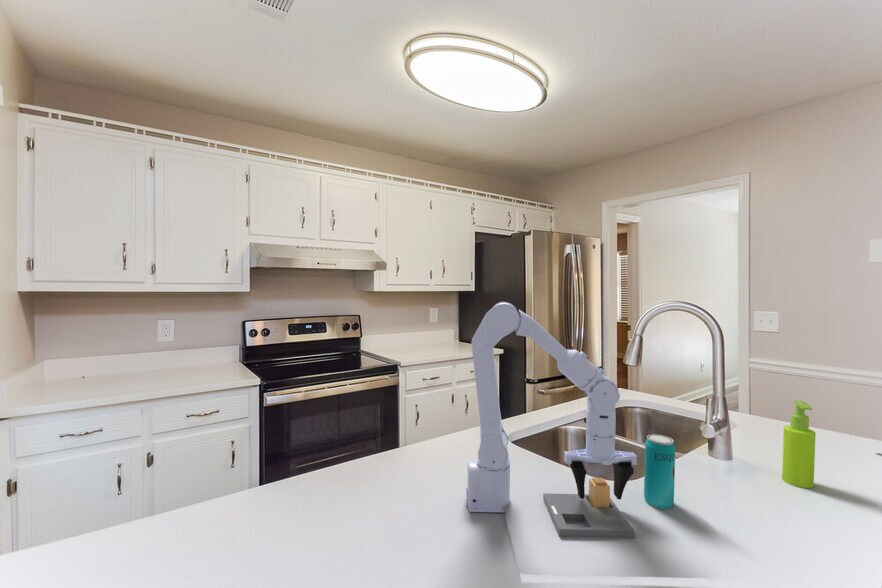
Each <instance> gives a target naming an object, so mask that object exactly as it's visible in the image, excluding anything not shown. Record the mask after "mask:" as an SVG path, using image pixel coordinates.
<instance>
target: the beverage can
mask: <svg viewBox="0 0 882 588" xmlns="http://www.w3.org/2000/svg"><path fill="white" fill-rule="evenodd" d="M674 443H675V441H674V439H673V438H671V437H670V436H667V435H663V434H655V433H654V434H653V433H652V434H648V435H647V436H646V441H645V443H644V447H645V448H644V478H643V480H644V483H643V484H644V485H643V486H644V487H643V497H644V500H645V502H646V503H647V504H648V505H650V506H652V507H654V508H657V509H660V510H661V509H662V510H667V509H668V510H669V509H671V508H673V506H674V503H675V480H676V479H675V472H676V470H675V469H676V446H675V444H674Z"/></svg>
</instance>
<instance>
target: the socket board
mask: <svg viewBox="0 0 882 588" xmlns="http://www.w3.org/2000/svg"><path fill="white" fill-rule="evenodd" d="M575 492H576V493H543V496H542V497H543V499H542V500H543V503H544V505H545V507H546V509H547V512H548V514H549V517H550V519H551V521H552V524H553V526H554V529H555V530H556V532H557V535H558V537H559V538H561V537H562V538H599V539H601V538H602V539H603V538H605V539H608V538H609V539H635V536H636V535H635V534H636V531H635V529H634V527H632V525H631V524H630V523H629V521H628V520H627V519H626V517H625V516H624V514H623V513H622V512H621V510H620V509H619V508H618V506H617V505H616V504H615V503H614V501H613V500H612V498H611V497H610V508H604V507H592V506H591V505H590V503H589V493H587V494H586V493H585V496H584V499H581V498H580V497H579V495H578V490H576V491H575Z"/></svg>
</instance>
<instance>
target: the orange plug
mask: <svg viewBox="0 0 882 588" xmlns="http://www.w3.org/2000/svg"><path fill="white" fill-rule="evenodd" d="M588 494H589V503H590V505H591V506H592V507H604V508H610V498H611V485H610V484H609V483H608V482H607V480H606V479H605V478H603V477H592V478H589V479H588Z"/></svg>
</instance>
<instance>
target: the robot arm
mask: <svg viewBox="0 0 882 588" xmlns="http://www.w3.org/2000/svg"><path fill="white" fill-rule="evenodd" d="M514 331H515V335H516V336H521V337H527V338H528V339H529V338H530V339H531V340H532V341H533V342H534V343H536V344H537V345H538V346H539V347H541V348H542V349H543V350H544V351H545V352H547V353H548V355H550V356H551V357H552V358H553V359H555V360H556V361H557V370H558V371H559V372H560V373H561V374H562V375H564V377H566V378H567V379H568V380H570V382H571V383H572V384H574V385H575V386H576V387H577V388H578V389H579V390H581V391H584V393H585V395H586V396H588V397H587V399H586V400H587V401H586V402H587V404H586V406H587V407H586V413H585V414H586V415H585V416H586V419H585V420H586V422H585V424H586V425H585V427H586V428H585V448H583V449H576V450H568V451H567V450H564V451H563V454H564V455H563V460H564V462H565V464H566V465H569V467H570V470H571V472H572V474H573V477H574V481H575V484H576V488H577V489H576V491H578V493H577V494H578V495H579V497H580V498H581V499H584V496H585V494H586V493H585V490H586V489H585V481H586V476H587V470H586V468H585V465H584V464H601V465H602V466H613V467H612V469H613V495H614V496H615V498H616V499H617V500H622V497H623V493H624V490H625V487H626V485H627V484H628V482H629V480H630V478H631V477H632V476H633V474H634V473H635V472H634V470H635V469H634V467H633V466H637V464H638V463H637V462H638V456H637V454H635V452H633V451H622V450H616V448H615V447H616V422H617V421H616V418H617V417H616V415H617V414H616V405H617V403H618V402H619V401H620V398H621V393H620V392H619V389H618V386H617V385H616V383H615V382H614V381H613V380H611V379H610V377H608V375H607V374H605V370H603V368H601V367H600V368H598V367H597V366H595V365H594V364H593V362H591V361H590V360H589V359H588V355H587V354H586V353H585V352H584V351H579V350H577V349H566V347H564V346H563V345H562V344H561V343H560V342H559V341H558V340H557V339H556V338H555V337H554V336H552V334H550V333H549V332H548V331H547V330H546V329H545V328H544V327H543V326H542V325H540V323H539V322H538V321H537V320H535V319H534V318H532V316H529V315H528V314H527V313H525V312H524V311H522V310H521V309H518V310H517V307H516V306H515V305H513V304H512V303H510V302H507V301H500V302H497V303H496V304H494V305H493V306H492V307H491V308H490V309H489V310H488V311H486V313H485V314H484V317H483V318H482V320H481V322H480V324H479V325H478V328H477V329H476V330H475V333H474V335H473V336H472V338H471V342H470V343H471V351H472V352H471V353H472V360H473V369H474V377H475V380H474V381H475V387H476V396H477V405H478V413H479V422H480V425H479V426H480V428H479V429H480V438H479V439H480V441H479V442H480V443H479V448H478V451H477V459H476V460H474V461H468V462H467V483H466V484H467V486H466V487H465V488H466V489H465V493H466V495H465V496H466V498H467V506H468V512H469V513H506V510H505V507H506V506H508V505H509V504H510V501H511V500H510V499H511V498H510V497H511V496H510V491H511V489H510V488H511V460H510V458H509V451H508V444H509V436H508V434H507V432H506V431H505V429H504V427H503V421H502V415H501V408H500V407H501V406H500V399H499V389H498V380H497V371H496V362H495V354H494V347H495V346H496V345H497V344H498V343H499V342H500V341H501V340H502V339H503V338H504V337H506V336H509V334H512V333H513V332H514Z"/></svg>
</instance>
